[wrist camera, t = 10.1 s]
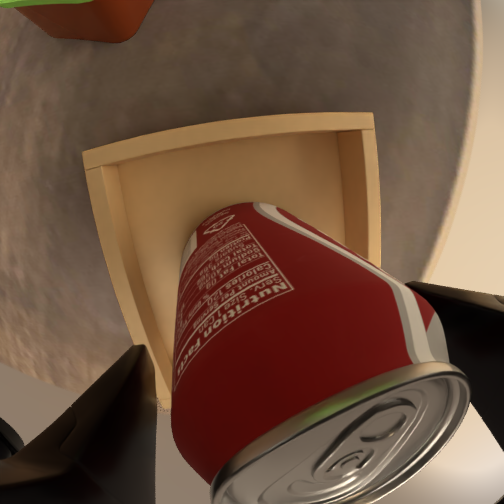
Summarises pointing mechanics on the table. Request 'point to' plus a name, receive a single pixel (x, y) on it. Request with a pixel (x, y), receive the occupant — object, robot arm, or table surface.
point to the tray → (223, 201)
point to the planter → (84, 17)
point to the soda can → (303, 366)
